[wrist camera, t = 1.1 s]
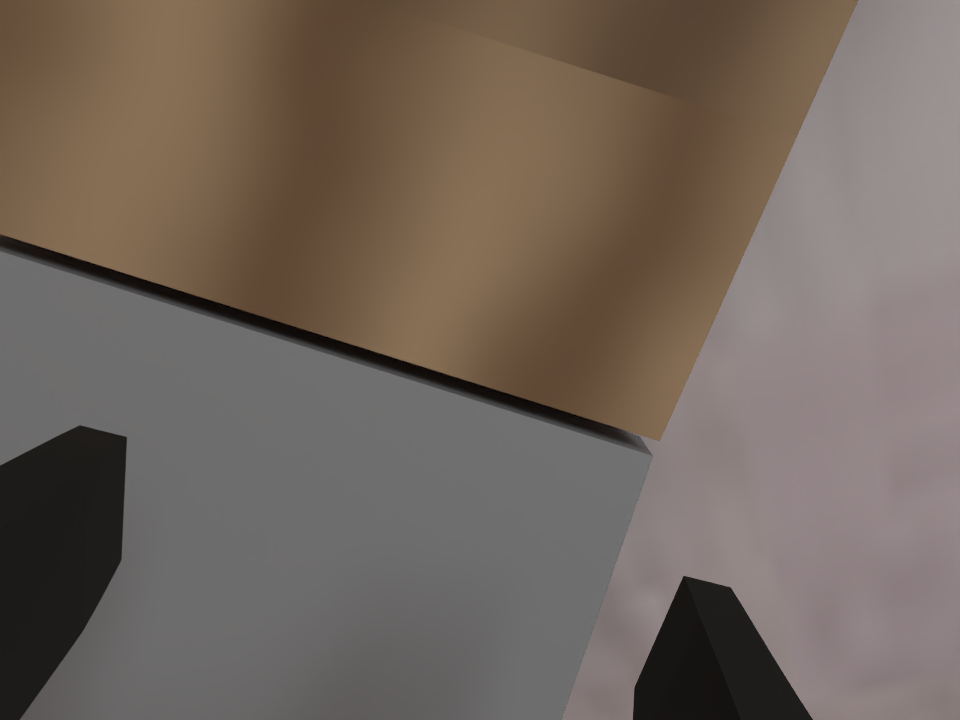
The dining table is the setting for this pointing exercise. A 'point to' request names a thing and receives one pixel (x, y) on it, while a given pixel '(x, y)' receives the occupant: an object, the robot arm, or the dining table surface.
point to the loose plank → (309, 514)
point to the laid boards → (423, 169)
